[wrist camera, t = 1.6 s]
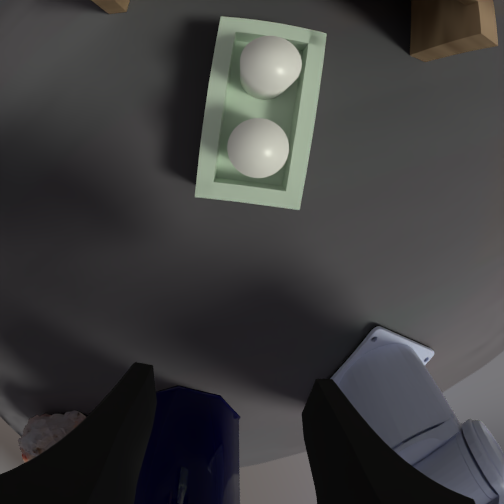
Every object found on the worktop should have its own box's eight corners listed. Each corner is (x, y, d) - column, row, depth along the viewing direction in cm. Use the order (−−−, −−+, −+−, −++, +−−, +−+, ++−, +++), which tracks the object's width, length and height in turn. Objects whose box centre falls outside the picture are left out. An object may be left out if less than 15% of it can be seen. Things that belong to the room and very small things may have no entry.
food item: (69, 442, 27) (49, 500, 18) (31, 403, 24) (0, 463, 15) (155, 446, 26) (141, 522, 17) (115, 403, 23) (87, 490, 14)
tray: (291, 199, 17) (308, 221, 12) (201, 187, 16) (187, 207, 12) (314, 46, 13) (339, 20, 9) (223, 32, 13) (218, -1, 9)
